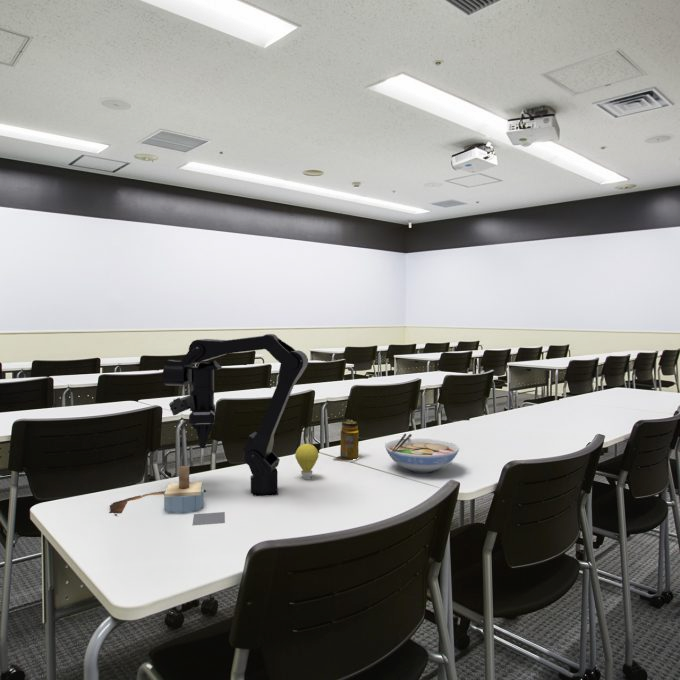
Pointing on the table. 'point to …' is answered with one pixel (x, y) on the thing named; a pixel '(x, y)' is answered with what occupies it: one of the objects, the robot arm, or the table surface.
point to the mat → (209, 518)
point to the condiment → (349, 442)
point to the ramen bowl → (421, 453)
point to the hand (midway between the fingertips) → (203, 444)
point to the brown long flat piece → (120, 505)
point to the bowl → (184, 503)
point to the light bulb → (306, 459)
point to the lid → (183, 485)
